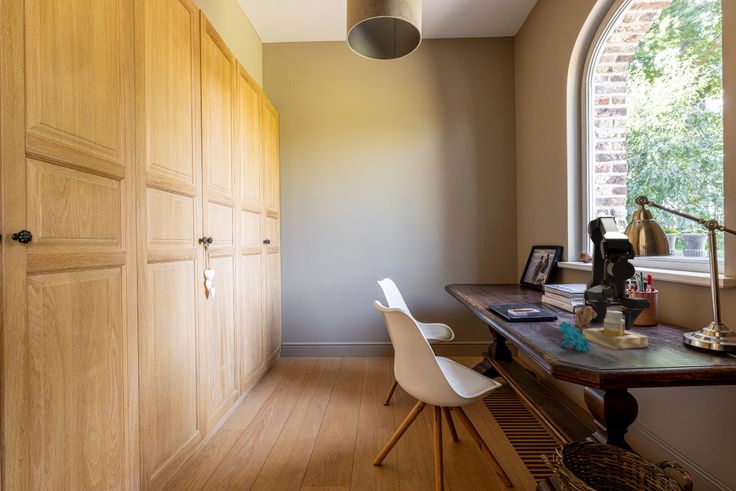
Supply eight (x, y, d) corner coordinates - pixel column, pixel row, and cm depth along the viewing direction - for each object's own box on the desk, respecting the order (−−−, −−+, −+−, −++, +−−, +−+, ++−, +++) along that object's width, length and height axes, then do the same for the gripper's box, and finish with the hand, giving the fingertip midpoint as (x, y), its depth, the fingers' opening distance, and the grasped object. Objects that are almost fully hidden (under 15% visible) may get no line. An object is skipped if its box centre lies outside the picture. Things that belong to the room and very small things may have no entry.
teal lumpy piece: (578, 350, 100) (556, 319, 107) (562, 360, 104) (542, 330, 110) (599, 349, 106) (577, 320, 112) (583, 359, 109) (562, 331, 116)
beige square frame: (612, 336, 121) (612, 327, 121) (647, 346, 109) (647, 336, 109) (582, 338, 118) (582, 329, 118) (614, 349, 106) (615, 339, 106)
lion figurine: (598, 333, 124) (599, 307, 124) (581, 332, 125) (582, 306, 125) (582, 323, 139) (583, 300, 139) (567, 322, 140) (568, 299, 140)
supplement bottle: (614, 339, 117) (615, 309, 117) (628, 344, 111) (629, 313, 111) (599, 340, 116) (600, 310, 116) (613, 345, 111) (613, 313, 110)
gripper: (570, 274, 121) (569, 320, 121) (620, 281, 102) (619, 335, 103) (598, 274, 123) (597, 319, 123) (652, 280, 105) (651, 333, 105)
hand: (614, 326), depth 113 cm, fingers open, 9 cm apart
